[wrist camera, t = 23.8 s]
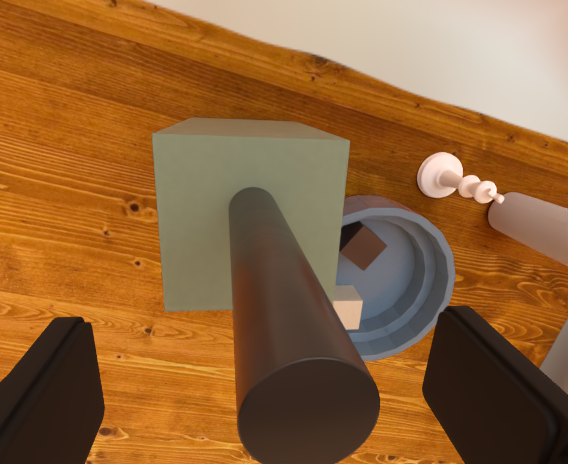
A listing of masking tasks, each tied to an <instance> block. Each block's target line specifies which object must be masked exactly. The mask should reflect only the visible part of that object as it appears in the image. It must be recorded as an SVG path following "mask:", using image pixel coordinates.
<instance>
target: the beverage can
mask: <svg viewBox="0 0 568 464" xmlns="http://www.w3.org/2000/svg"><path fill="white" fill-rule="evenodd" d="M502 196H504V197H505V198H504V201H503V202H502V203H501V204H500V203H498V202H496V201H494V202H493V203H492V205H491V206H490V209H489V212H488V220H489V223H490V225H491V226H492V227H493V228H494V229H495V230H497V231H499V232H501V233H503V234H505V235H507V236H509V237H511V238H513V239H515V240H517V241H518V242H520V243H522V244H524V245H526V246H528V247H530V248H532V249H534V250H536V251H538V252H540V253H542V254H544V255H546V256H548V257H550V258H552V259H554V260H556V261H558V262H560V263H562V264H564V265H566V266H568V209H567V208H564V207H561V206H558V205H555V204H552V203H549V202H545V201H542V200H539V199H536V198H533V197H530V196H527V195H524V194H521V193H517V192H509V193H506V194H504V195H502Z"/></svg>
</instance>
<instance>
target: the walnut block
mask: <svg viewBox="0 0 568 464" xmlns="http://www.w3.org/2000/svg"><path fill="white" fill-rule="evenodd" d="M386 247H387V245H386V244H385V243H384V242H383V241H382V240H381V239H380V238H379V237H378V236H377V235H376V234H375V233H374V232H373V231H371V230H370V229H369V228H368V227H367V226H365V225H364V224H363V223H362V222H361V221H357V222H354V223H351V224H348V225H344V226H343V227H342V228H341V235H340V244H339V252H340V253H341V254H343V255H344V256H345V257H346V258H348V259H349V260H350V261H351V262H353V263H354V264H355V265H356V266H358V267H359V268H360V269H362V270H363V271H365V269H366V268H367V267H368V266H369V265H370V264H371V263H372V262H373V261H374V260H375V259H376V258H377V257H378V256H379V255H380V254H381V253H382V251H383V250H384V249H385V248H386Z"/></svg>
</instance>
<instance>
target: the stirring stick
mask: <svg viewBox="0 0 568 464" xmlns="http://www.w3.org/2000/svg"><path fill="white" fill-rule="evenodd" d="M229 234H230V259H231V283H232V307H233V332H234V356H235V381H236V405H237V429H238V434H239V437H240V440H241V442H242V444H243V446H244V447H245V449H246V451H247V452H248V453H249V454H250V455H251V456H252V457H253V458H254V459H255V460H257V461H258V462H260V463H261V464H336V463H338V462H340V461H341V460H343V459H345V458H347V457H348V456H349V455H351V454H352V453H354V452H355V451H356V450H357V449H358V448H359V447H360V446H361V445H362V444H363V443H364V442H365V441H366V440H367V438H368V437H369V436H370V434H371V433H372V431H373V429H374V427H375V425H376V423H377V420H378V416H379V410H380V397H379V392H378V389H377V386H376V384H375V382H374V380H373V378H372V376H371V375H370V373H369V371H368V369H367V367H366V365H365V364H364V362H363V360H362V358H361V356H360V355H359V353H358V351H357V349H356V347H355V345H354V344H353V342H352V340H351V338H350V336H349V335H348V333H347V331H346V329H345V327H344V325H343V324H342V322H341V320H340V318H339V316H338V314H337V313H336V311H335V309H334V307H333V305H332V304H331V302H330V300H329V298H328V296H327V294H326V293H325V291H324V289H323V287H322V285H321V284H320V282H319V280H318V278H317V276H316V274H315V273H314V271H313V269H312V267H311V265H310V263H309V262H308V260H307V258H306V256H305V254H304V253H303V251H302V249H301V247H300V245H299V243H298V242H297V240H296V238H295V236H294V234H293V232H292V231H291V229H290V227H289V225H288V223H287V222H286V220H285V218H284V216H283V214H282V212H281V211H280V209H279V207H278V205H277V203H276V202H275V200H274V198H273V197H272V195H271V194H270V193H269V192H267V191H266V190H264V189H261V188H258V187H249V188H245V189H242V190H241V191H239V192H238V193H236V194H235V195H234V197H233V198H232V200H231V202H230V204H229Z"/></svg>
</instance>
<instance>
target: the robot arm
mask: <svg viewBox="0 0 568 464" xmlns="http://www.w3.org/2000/svg"><path fill="white" fill-rule="evenodd" d="M422 391H423V395H424V398H425V400H426V402H427V404H428V405H429V407H430V408H431V410H432V412H433V413H434V415H435V416H436V418H437V420H438V421H439V423H440V424H441V426H442V428H443V429H444V431H445V432H446V434H447V436H448V437H449V439H450V440H451V442H452V444H453V445H454V447H455V448H456V450H457V452H458V453H459V455H460V456H461V458H462V460H463V461H464V463H465V464H568V395H567V394H566V393H565V392H564V391H563V390H562V389H561V388H560V387H558V386H557V385H556V384H555V383H554V382H553V381H552V380H551V379H550V378H549V377H547V376H546V375H545V374H544V373H543V372H542V371H541V370H540V369H539V368H537V367H536V366H535V365H534V364H533V363H532V362H531V361H530V360H529V359H527V358H526V357H525V356H524V355H523V354H522V353H521V352H520V351H519V350H517V349H516V348H515V347H514V346H513V345H512V344H511V343H510V342H509V341H507V340H506V339H505V338H504V337H503V336H502V335H501V334H500V333H499V332H497V331H496V330H495V329H494V328H493V327H492V326H491V325H490V324H489V323H487V322H486V321H485V320H484V319H483V318H482V317H481V316H480V315H478V314H477V313H476V312H475V311H474V310H473V309H472V308H470V307H469V306H447V307H446V308H445V309H444V310H443V311H442V312H440V313H439V315H438V319H437V323H436V328H435V332H434V337H433V341H432V345H431V350H430V354H429V359H428V363H427V368H426V372H425V377H424V381H423V386H422ZM104 410H105V405H104V398H103V392H102V386H101V380H100V373H99V367H98V361H97V355H96V348H95V342H94V336H93V330H92V325H91V323H89V322H84V319H83V318H82V317H57V318H55V319H53V320H52V322H51V323H50V324H49V325H48V327H47V328H46V329H45V330H44V331H43V333H42V334H41V335H40V336H39V338H38V339H37V340H36V341H35V342H34V344H33V345H32V346H31V347H30V349H29V350H28V351H27V352H26V353H25V355H24V356H23V357H22V358H21V360H20V361H19V362H18V363H17V364H16V366H15V367H14V368H13V369H12V371H11V372H10V373H9V374H8V375H7V377H5V378H4V379H3V380H2V381H1V382H0V464H85V462H86V459H87V457H88V454H89V452H90V450H91V447H92V445H93V442H94V440H95V437H96V435H97V433H98V430H99V428H100V425H101V423H102V420H103V416H104Z"/></svg>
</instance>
